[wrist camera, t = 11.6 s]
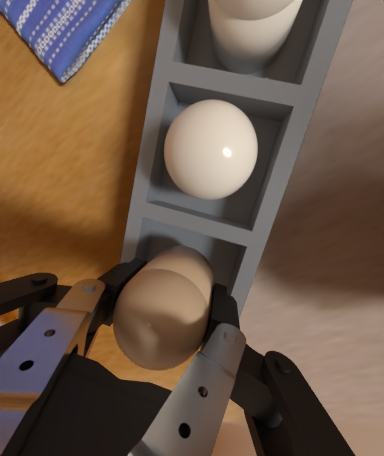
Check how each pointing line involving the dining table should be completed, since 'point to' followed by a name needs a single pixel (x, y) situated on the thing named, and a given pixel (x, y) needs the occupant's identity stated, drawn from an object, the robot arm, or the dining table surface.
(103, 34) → the dish towel
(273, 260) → the dining table surface
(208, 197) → the cream egg middle
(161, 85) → the egg carton
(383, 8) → the dining table surface
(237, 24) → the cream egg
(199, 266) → the tan egg
